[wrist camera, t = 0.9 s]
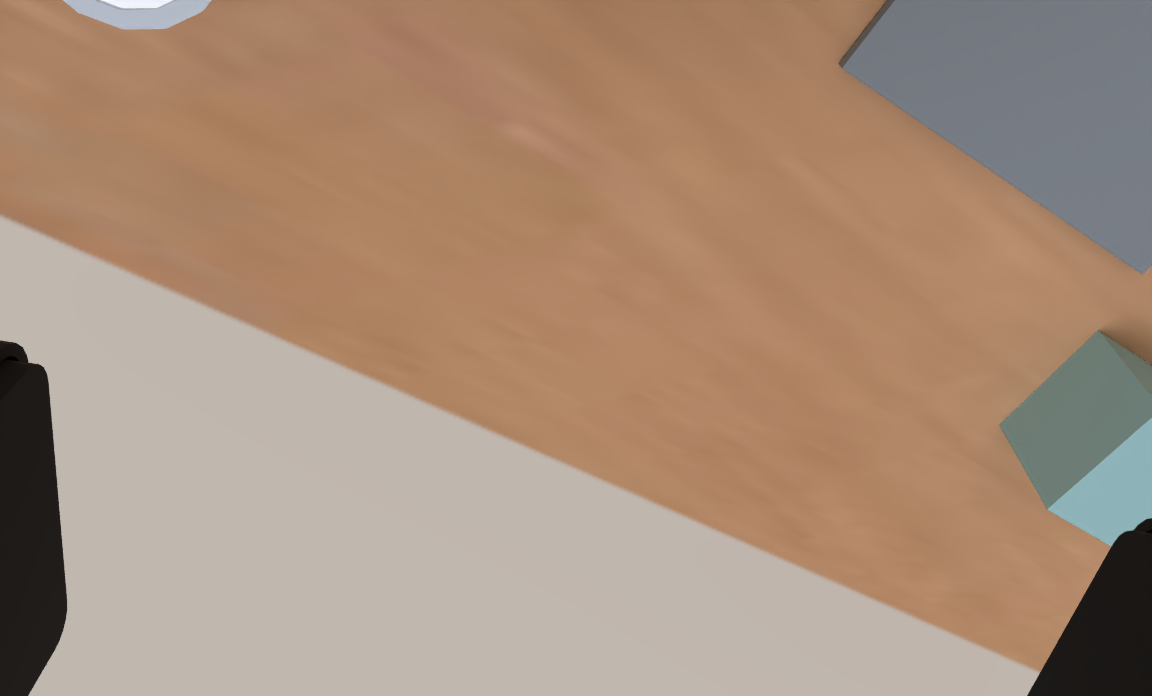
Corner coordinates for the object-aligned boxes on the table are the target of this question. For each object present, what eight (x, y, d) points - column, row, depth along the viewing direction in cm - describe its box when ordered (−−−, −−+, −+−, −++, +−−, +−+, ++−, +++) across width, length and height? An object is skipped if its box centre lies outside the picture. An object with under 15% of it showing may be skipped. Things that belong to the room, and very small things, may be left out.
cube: (1097, 329, 46) (1161, 408, 40) (1192, 391, 47) (1264, 474, 42) (998, 424, 48) (1047, 509, 43) (1091, 479, 50) (1148, 568, 45)
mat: (1124, -307, 33) (1132, -307, 33) (1437, -26, 38) (1449, -22, 37) (838, 63, 40) (841, 68, 39) (1136, 267, 44) (1142, 274, 43)
